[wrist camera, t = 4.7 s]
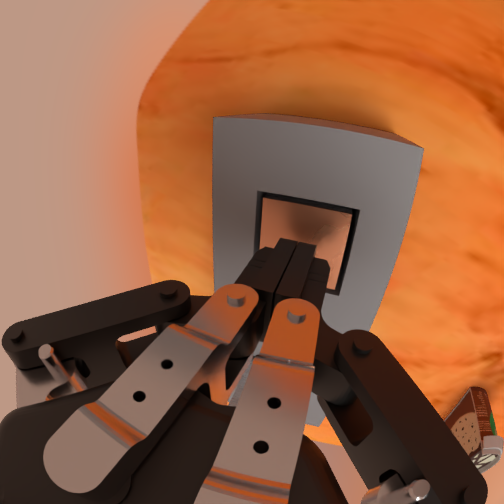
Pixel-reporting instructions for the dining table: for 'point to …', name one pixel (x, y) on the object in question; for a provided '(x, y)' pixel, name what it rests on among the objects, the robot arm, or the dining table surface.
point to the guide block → (319, 189)
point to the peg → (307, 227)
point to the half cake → (476, 429)
